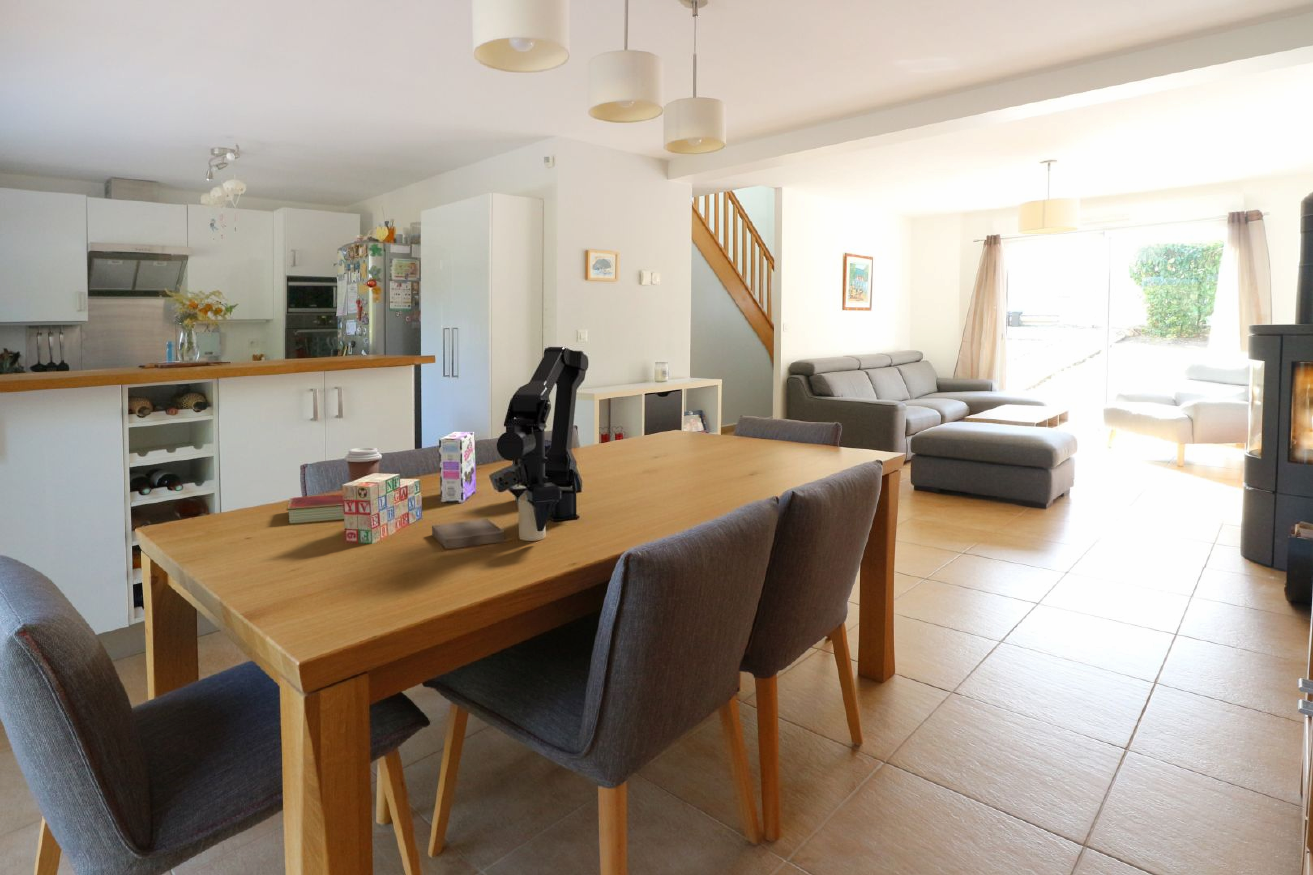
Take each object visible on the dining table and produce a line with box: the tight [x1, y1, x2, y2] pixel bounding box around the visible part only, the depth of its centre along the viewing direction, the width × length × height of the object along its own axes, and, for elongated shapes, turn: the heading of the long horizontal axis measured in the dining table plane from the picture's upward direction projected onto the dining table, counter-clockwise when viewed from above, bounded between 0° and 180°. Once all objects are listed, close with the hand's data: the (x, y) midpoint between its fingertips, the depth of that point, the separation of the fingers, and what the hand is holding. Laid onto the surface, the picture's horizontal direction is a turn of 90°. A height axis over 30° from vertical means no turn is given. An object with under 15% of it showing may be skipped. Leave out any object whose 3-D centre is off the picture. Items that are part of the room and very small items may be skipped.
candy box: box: [438, 431, 477, 504], centre depth 195 cm, size 14×6×16 cm, turn 179°
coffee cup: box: [344, 446, 383, 482], centre depth 197 cm, size 9×9×12 cm
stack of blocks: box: [341, 472, 423, 544], centre depth 164 cm, size 21×6×12 cm, turn 170°
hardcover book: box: [286, 493, 344, 524], centre depth 178 cm, size 12×21×4 cm, turn 112°
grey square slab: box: [431, 518, 506, 550], centre depth 158 cm, size 12×12×2 cm
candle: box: [517, 491, 546, 542], centre depth 158 cm, size 6×6×10 cm
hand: (532, 525), depth 158 cm, fingers open, 9 cm apart
